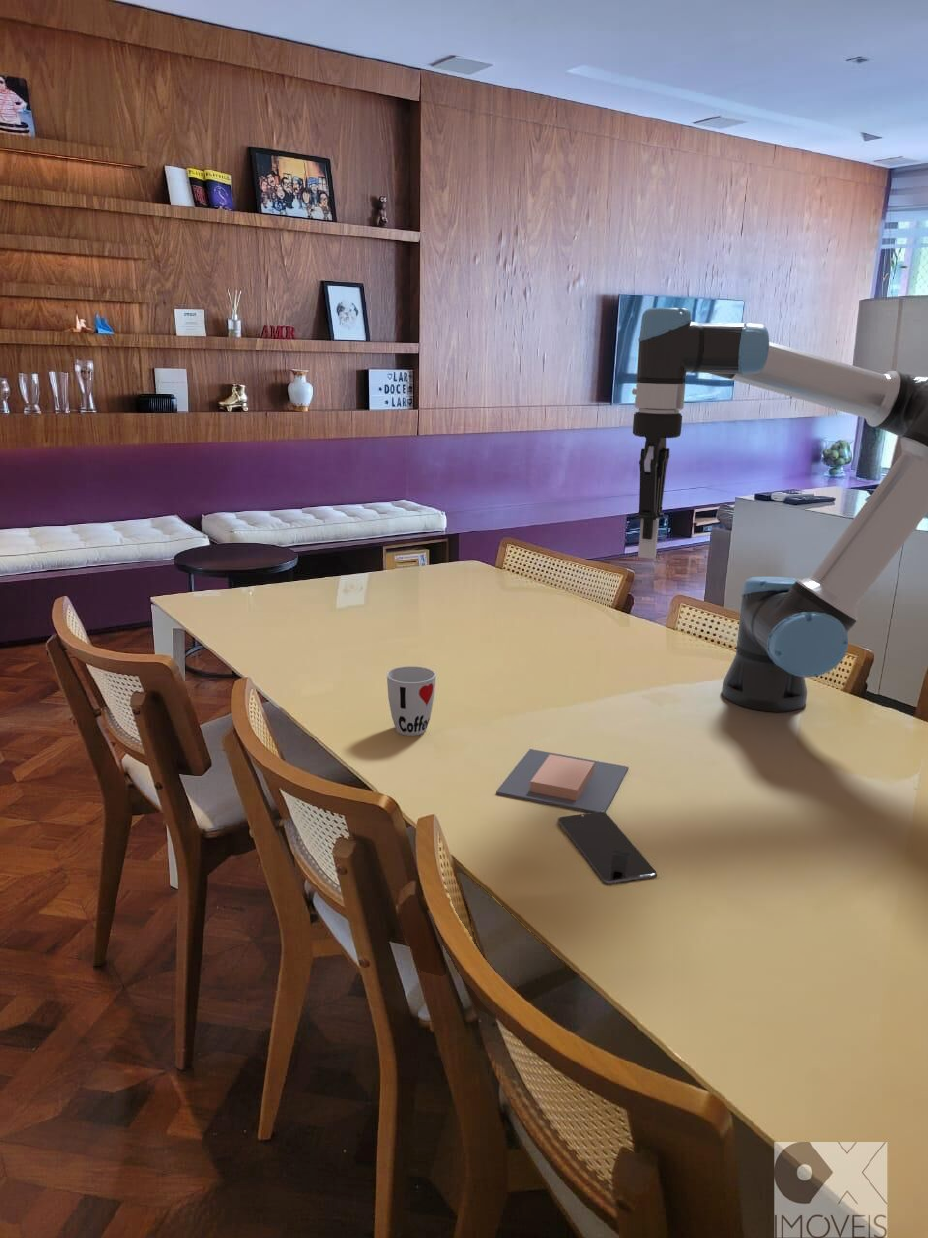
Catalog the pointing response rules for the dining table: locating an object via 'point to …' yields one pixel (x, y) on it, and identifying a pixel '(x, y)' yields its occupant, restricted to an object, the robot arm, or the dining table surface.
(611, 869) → the smartphone
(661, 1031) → the dining table surface
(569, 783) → the slab
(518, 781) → the mat
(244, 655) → the dining table surface
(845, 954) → the dining table surface
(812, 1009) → the dining table surface
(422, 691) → the cup
